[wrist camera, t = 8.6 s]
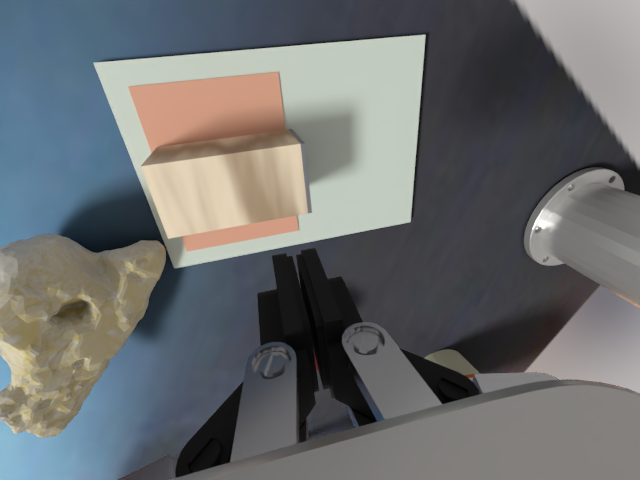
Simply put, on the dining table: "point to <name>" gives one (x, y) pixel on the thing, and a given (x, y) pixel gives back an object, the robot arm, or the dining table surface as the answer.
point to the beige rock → (66, 322)
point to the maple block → (228, 182)
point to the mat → (284, 114)
